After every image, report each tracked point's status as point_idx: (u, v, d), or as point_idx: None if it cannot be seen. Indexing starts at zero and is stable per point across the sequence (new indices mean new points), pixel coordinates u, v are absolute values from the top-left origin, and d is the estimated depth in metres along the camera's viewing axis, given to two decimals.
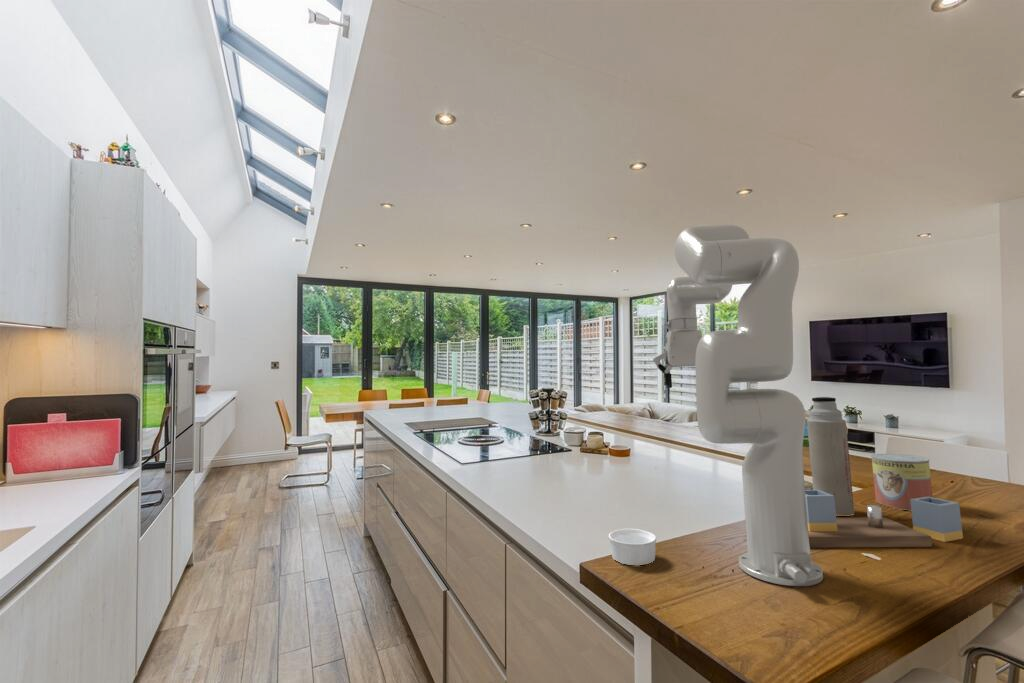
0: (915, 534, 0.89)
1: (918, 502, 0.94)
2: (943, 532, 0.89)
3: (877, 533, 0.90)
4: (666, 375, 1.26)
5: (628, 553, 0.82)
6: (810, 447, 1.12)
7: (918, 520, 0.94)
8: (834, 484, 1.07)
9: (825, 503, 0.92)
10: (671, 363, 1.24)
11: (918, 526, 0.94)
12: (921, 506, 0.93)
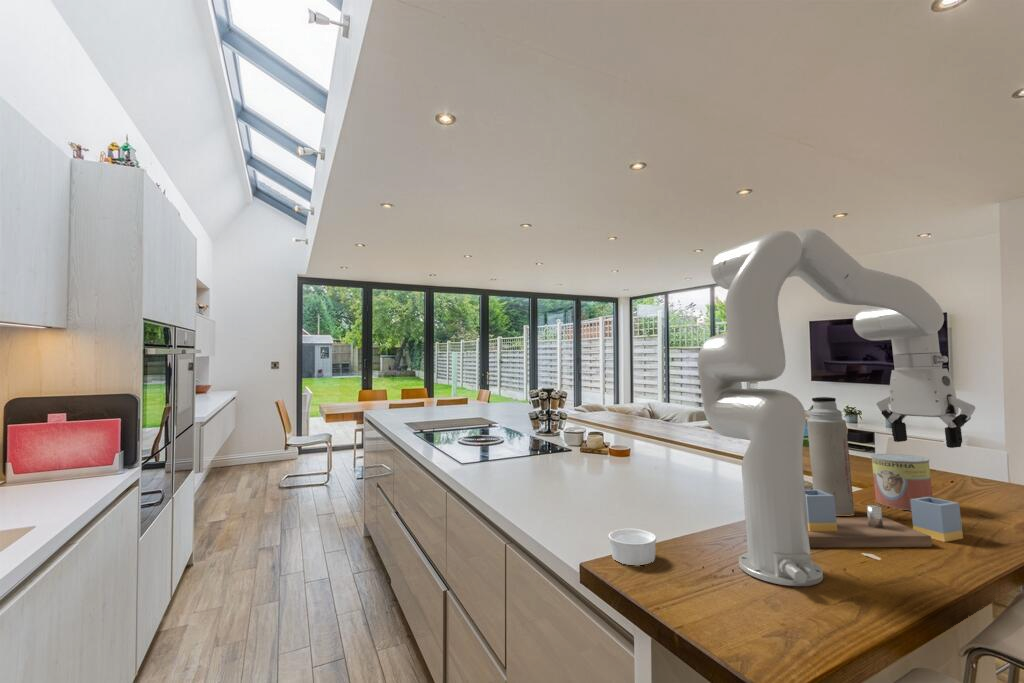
0: (915, 534, 0.89)
1: (918, 502, 0.94)
2: (943, 532, 0.89)
3: (877, 533, 0.90)
4: None
5: (628, 553, 0.82)
6: (810, 447, 1.12)
7: (918, 520, 0.94)
8: (834, 484, 1.07)
9: (825, 503, 0.92)
10: None
11: (918, 526, 0.94)
12: (921, 506, 0.93)
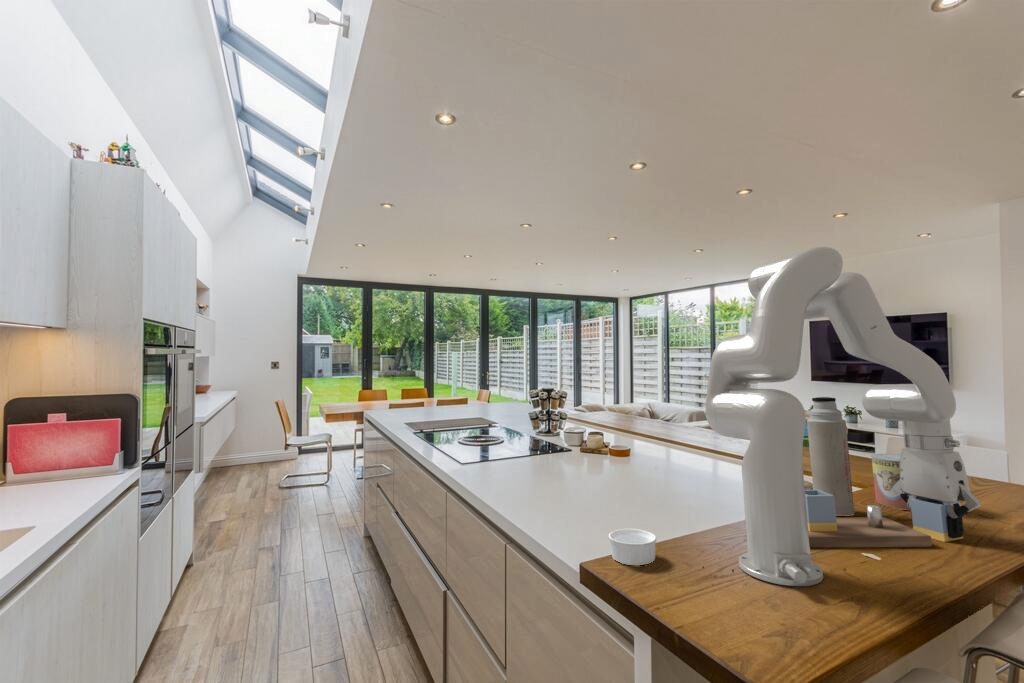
0: (915, 534, 0.89)
1: (918, 502, 0.94)
2: (943, 532, 0.89)
3: (877, 533, 0.90)
4: None
5: (628, 553, 0.82)
6: (810, 447, 1.12)
7: (918, 520, 0.94)
8: (834, 484, 1.07)
9: (825, 503, 0.92)
10: None
11: (918, 526, 0.94)
12: (921, 506, 0.93)
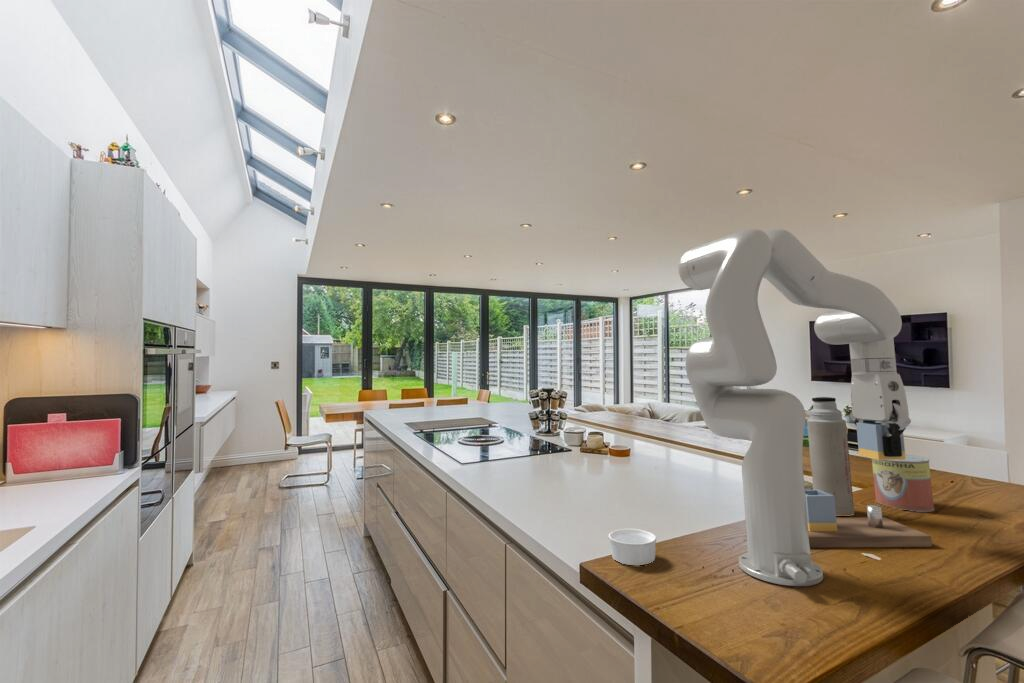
0: (915, 534, 0.89)
1: (861, 424, 0.96)
2: (878, 450, 0.92)
3: (877, 533, 0.90)
4: None
5: (628, 553, 0.82)
6: (810, 447, 1.12)
7: (861, 442, 0.96)
8: (834, 484, 1.07)
9: (825, 503, 0.92)
10: None
11: (861, 448, 0.96)
12: (863, 427, 0.96)
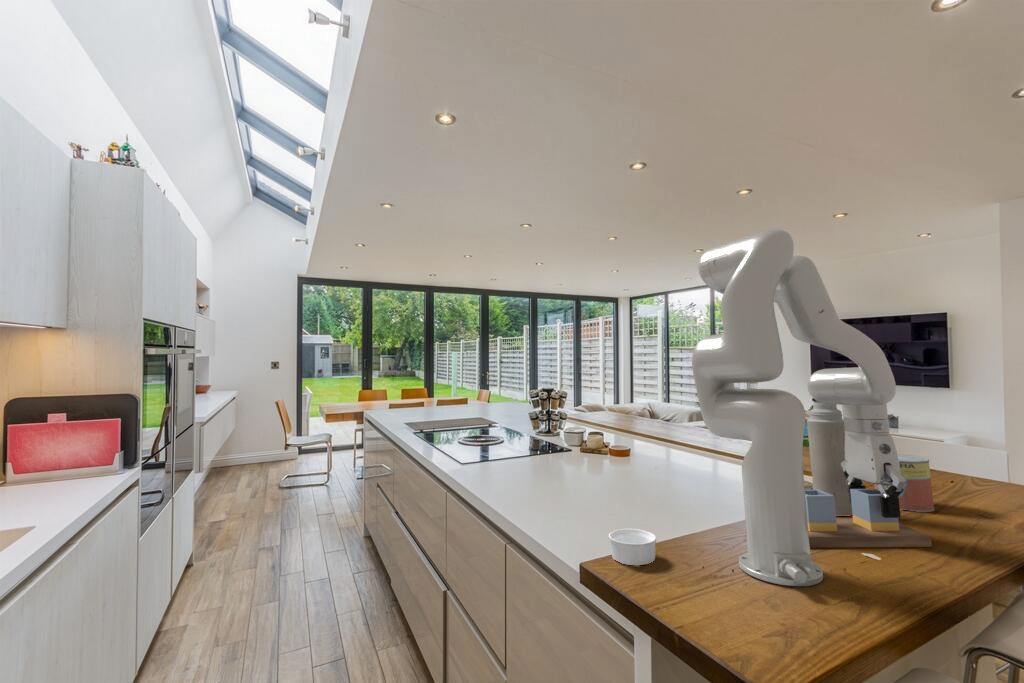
0: (915, 534, 0.89)
1: (855, 492, 0.95)
2: (870, 521, 0.91)
3: (877, 533, 0.90)
4: None
5: (628, 553, 0.82)
6: (810, 447, 1.12)
7: (855, 509, 0.95)
8: (834, 484, 1.07)
9: (825, 503, 0.92)
10: None
11: (855, 515, 0.95)
12: (856, 495, 0.95)
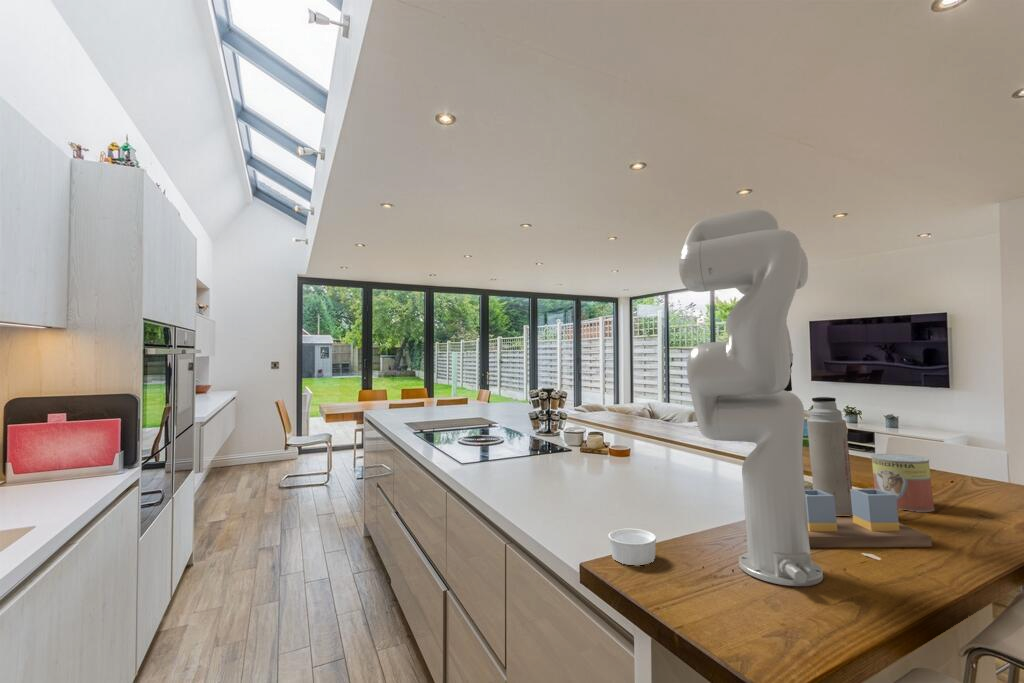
0: (915, 534, 0.89)
1: (855, 492, 0.95)
2: (870, 521, 0.91)
3: (877, 533, 0.90)
4: None
5: (628, 553, 0.82)
6: (810, 447, 1.12)
7: (855, 509, 0.95)
8: (834, 484, 1.07)
9: (825, 503, 0.92)
10: (792, 361, 1.02)
11: (855, 515, 0.95)
12: (856, 495, 0.95)
